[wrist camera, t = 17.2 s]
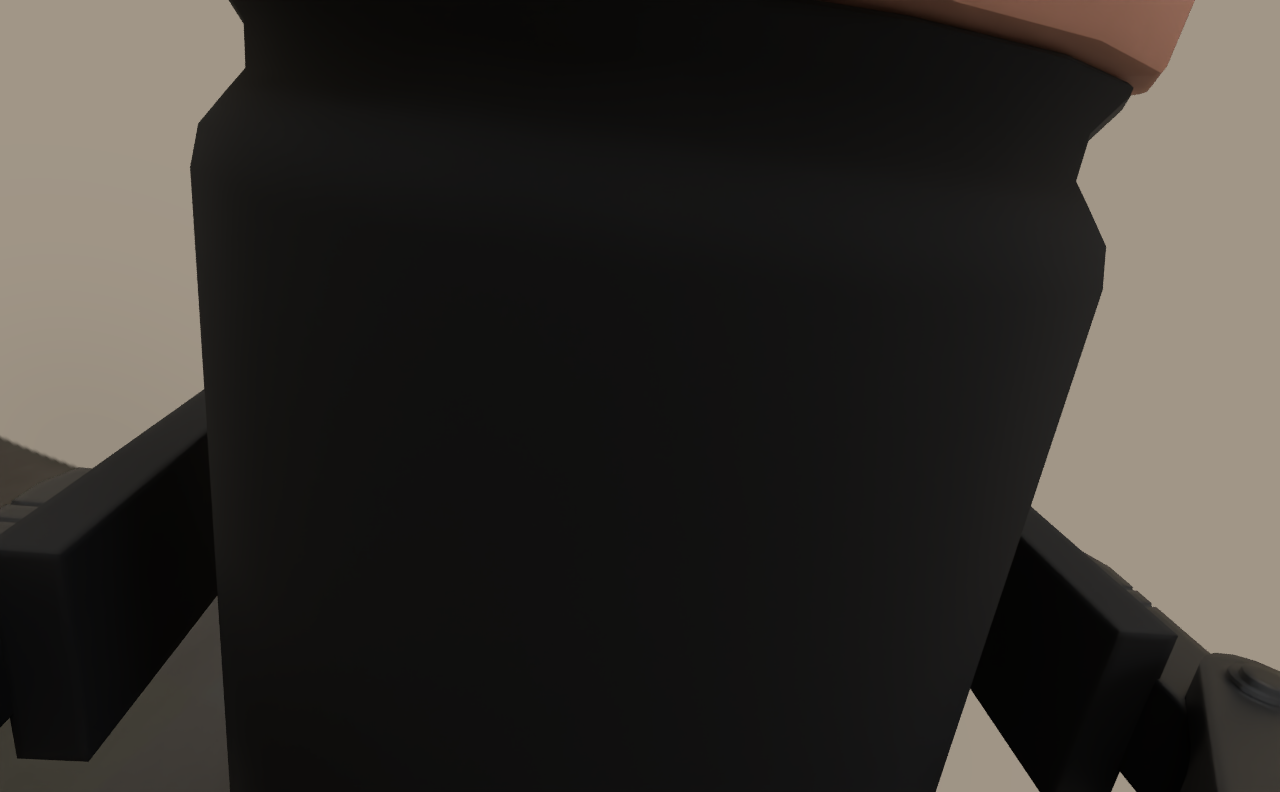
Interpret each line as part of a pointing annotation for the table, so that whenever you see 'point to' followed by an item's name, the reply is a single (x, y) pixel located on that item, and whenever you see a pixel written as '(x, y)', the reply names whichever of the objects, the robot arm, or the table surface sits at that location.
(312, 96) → the coffee jar
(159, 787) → the table surface
